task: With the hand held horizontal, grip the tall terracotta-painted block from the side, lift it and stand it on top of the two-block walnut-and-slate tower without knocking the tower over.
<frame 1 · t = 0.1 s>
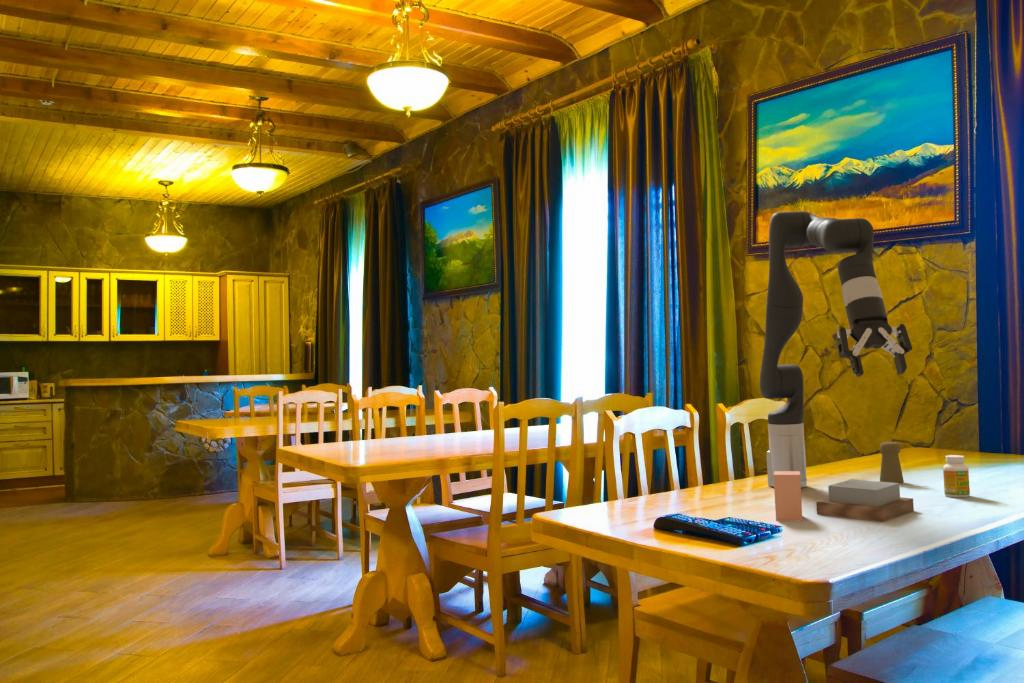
hand: (880, 374, 164), 31 cm above the table, tool tilted 20°, fingers open, 8 cm apart
cork: (891, 483, 219), on the table
terracotta block: (789, 518, 178), on the table
slate top block: (864, 500, 181), point 3 cm above the table, touching walnut base block
walnut base block: (865, 515, 181), on the table, touching slate top block
supplement bottle: (957, 497, 195), on the table
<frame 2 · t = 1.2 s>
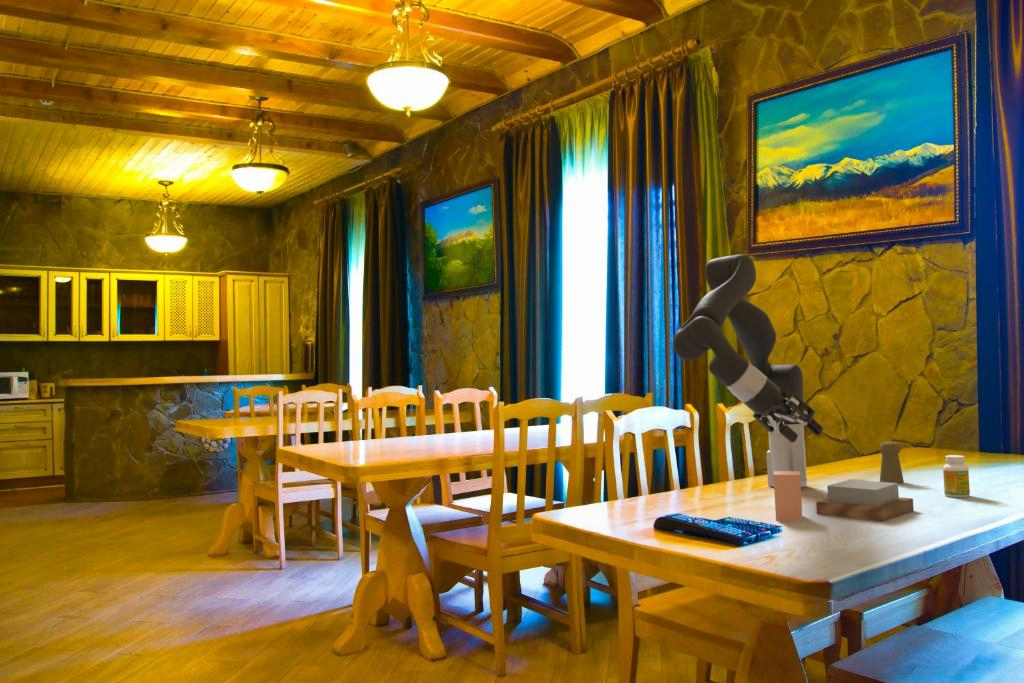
hand: (807, 436, 175), 18 cm above the table, tool tilted 45°, fingers open, 8 cm apart
nothing on the table moved.
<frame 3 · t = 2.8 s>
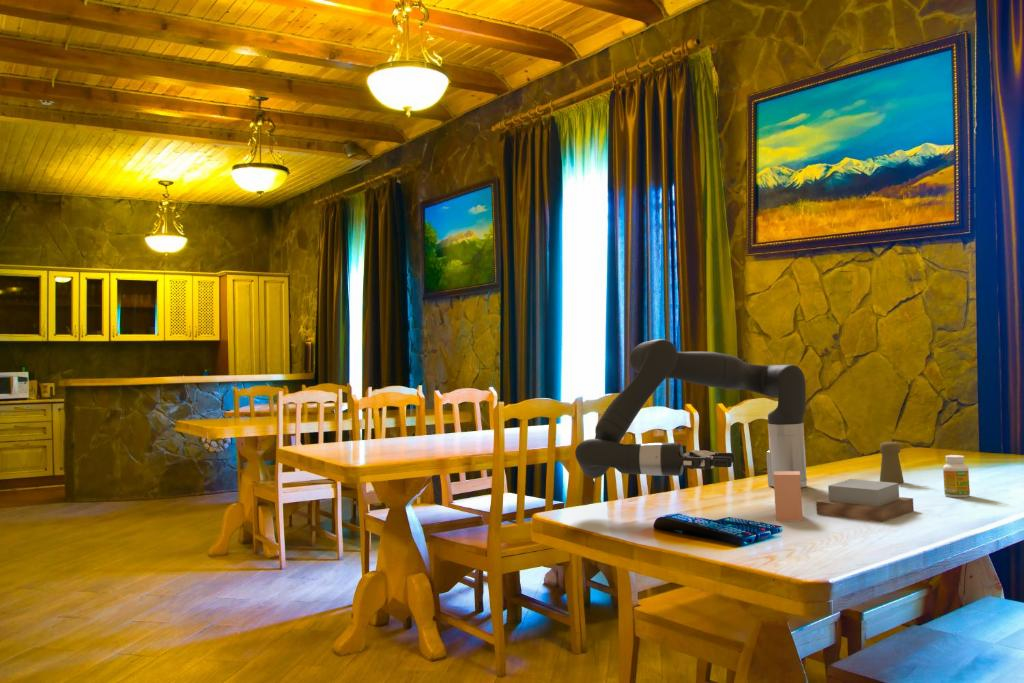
hand: (733, 459, 182), 13 cm above the table, tool horizontal, fingers open, 8 cm apart
nothing on the table moved.
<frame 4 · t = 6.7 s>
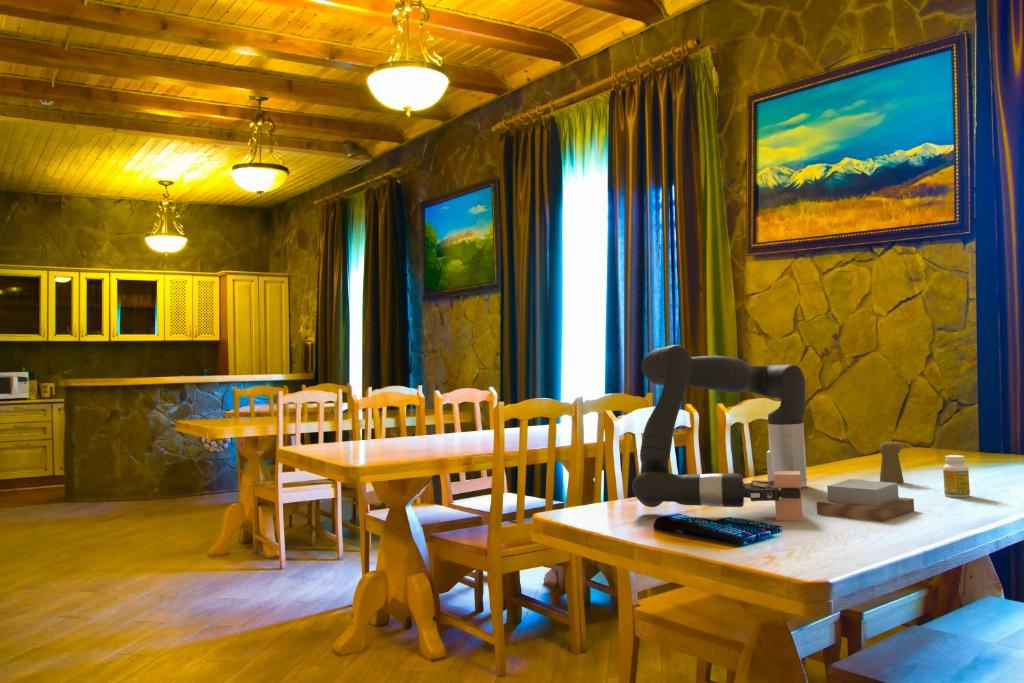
hand: (799, 490, 178), 6 cm above the table, tool horizontal, fingers closed on terracotta block, 5 cm apart
terracotta block: (789, 517, 179), on the table, touching gripper
everything else where it was.
when the fingers open (13 cm above the table, at t = 12.1 s): terracotta block drops 1 cm, resting on slate top block.
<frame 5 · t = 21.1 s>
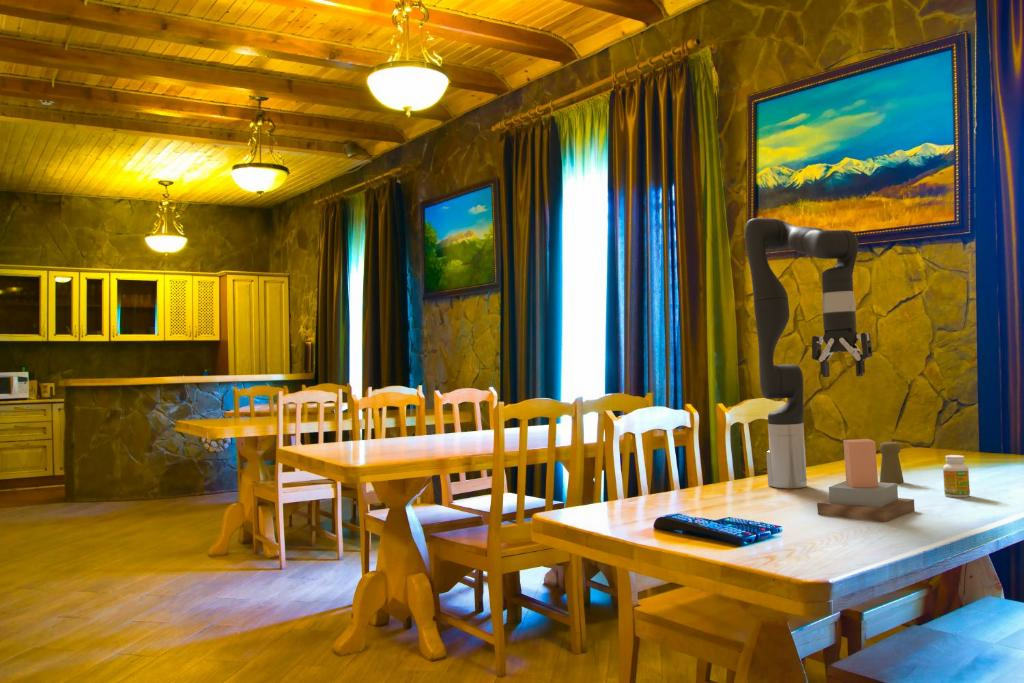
hand: (842, 376, 198), 30 cm above the table, tool pointing down, fingers open, 8 cm apart
terracotta block: (862, 485, 181), point 6 cm above the table, touching slate top block
slate top block: (863, 500, 181), point 3 cm above the table, touching terracotta block, walnut base block
everything else where it was.
at the end: terracotta block inside the target area on the slate top block (0.2 cm from its centre), point 3.6 cm above the slate top block's base; terracotta block tilted 1°; slate top block 0.3 cm from the walnut base block (horizontally) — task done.
